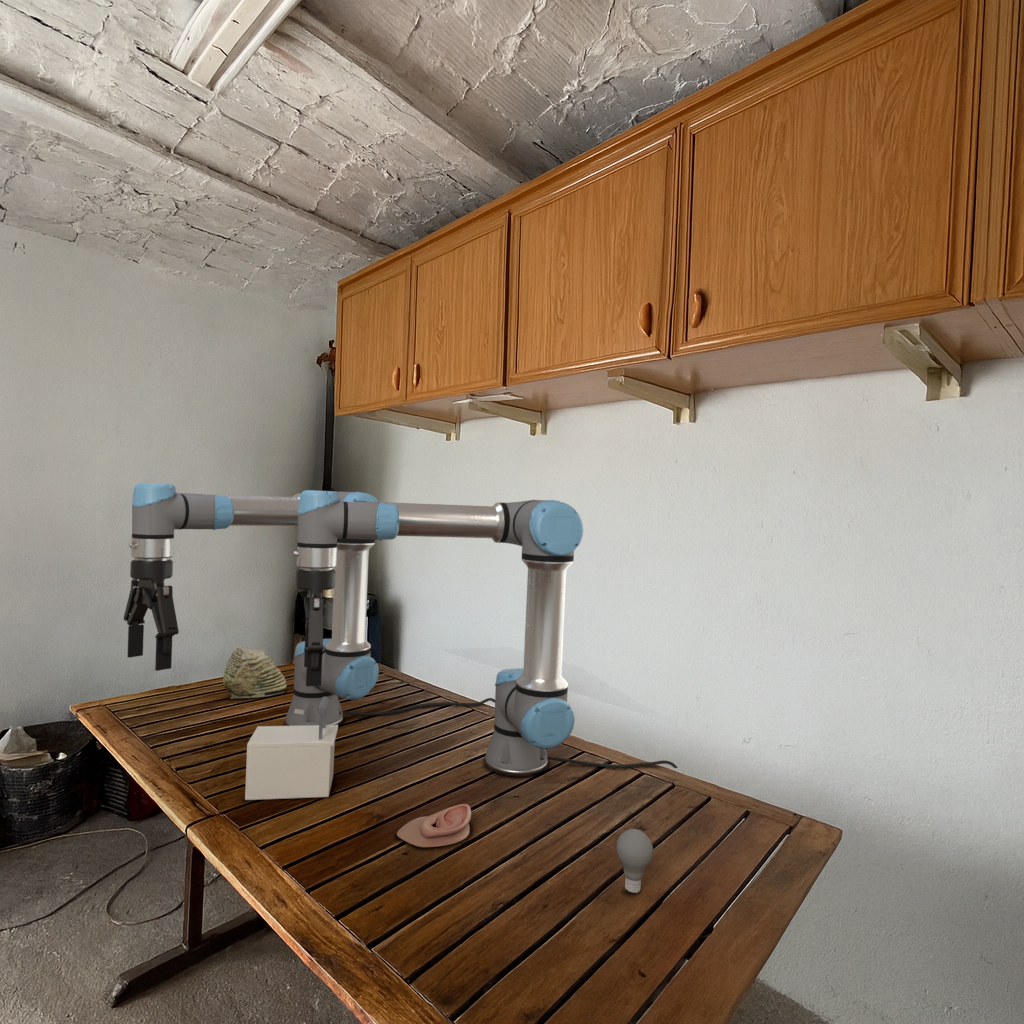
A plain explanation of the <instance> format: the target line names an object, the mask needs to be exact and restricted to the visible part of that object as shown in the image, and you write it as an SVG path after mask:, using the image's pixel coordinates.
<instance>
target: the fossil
mask: <svg viewBox="0 0 1024 1024" xmlns="http://www.w3.org/2000/svg"><path fill="white" fill-rule="evenodd" d="M222 676H223V677H222V685H223V687H224V688H225V690H226V691H228V693H229V698H230V699H250V698H264V697H271V696H275V695H281V694H284V693H285V691H286V689H287V687H288V686H287V680H286V678H285V676H284V674H283V673H282V672H281V669H279V668H278V667H277V665H276V663H275V662H274V660H273V659H272V658H271V657H270V656H269V655H268V654H267V653H266V652H265V650H264V649H263V648H260V647H258V648H251V647H247V646H246V647H245V646H238V647H237V648H236V649H235V650H233V651H232V653H231V656H230V657H229V659H228V660H227V663H226V666H225V668H224V671H223V675H222Z"/></svg>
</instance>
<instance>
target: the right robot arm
mask: <svg viewBox="0 0 1024 1024" xmlns="http://www.w3.org/2000/svg"><path fill="white" fill-rule="evenodd" d="M336 491H337V490H336ZM336 491H335V490H333V491H332V490H313V489H312V490H311V489H306V490H303V491H301V494H300V498H299V509H298V529H297V539H296V541H297V543H296V544H297V545H296V548H297V550H295V551H293V552H292V553H293V556H294V557H296V566H297V570H296V571H295V588H296V589H298V590H301V591H302V590H303V591H306V593H307V594H306V595H307V596H304V598H303V605H304V614H305V625H304V628H305V630H304V632H305V636H304V641H305V647H304V652H305V654H304V667H307V670H306V686H321V675H322V650H323V648H324V646H323V639H324V620H325V616H326V615H325V613H326V610H325V609H326V606H327V604H326V603H327V598H326V596H323V591H328V590H329V591H330V590H334V587H335V580H336V571H335V566H336V562H337V539H371V540H375V541H376V540H377V541H380V542H381V541H387V540H389V541H390V540H391V541H392V540H395V539H396V538H397V537H423V538H424V537H425V538H461V539H463V538H464V539H465V538H466V539H491V540H492V541H493V542H494V543H496V544H502V543H503V544H510V545H516V546H519V547H521V561H522V562H523V563H524V565H525V566H526V568H527V578H526V579H527V581H526V584H527V585H526V600H525V601H526V602H525V603H526V606H525V627H524V628H525V629H524V646H523V647H524V648H523V668H508V669H507V668H505V669H502V670H499V671H498V673H497V674H496V679H495V684H494V686H495V692H494V694H495V695H494V697H495V698H494V699H495V703H494V719H493V722H494V723H493V724H494V725H493V732H492V736H491V738H490V741H489V743H488V746H487V749H486V751H485V756H484V764H485V766H486V767H487V768H488V769H489V770H490V771H492V772H494V773H496V774H499V775H503V776H508V777H518V778H519V777H521V778H522V777H531V776H535V775H538V774H541V773H543V772H544V771H545V770H547V768H548V762H549V761H548V760H550V761H557V762H564V763H570V764H575V765H576V764H577V765H583V766H590V767H600V768H612V769H623V768H625V769H626V768H636V767H644V766H645V767H647V766H657V765H663V764H664V765H669V766H671V767H673V768H674V769H678V766H677V765H676V764H675V763H674V762H672V761H670V760H664V759H663V760H656V761H646V762H643V761H642V762H635V763H634V762H633V763H625V764H624V763H623V764H613V763H611V764H610V763H600V762H591V761H585V760H584V761H583V760H577V759H570V758H563V757H557V756H550V755H548V752H547V750H551V749H554V748H557V747H558V746H561V745H562V744H563V743H564V742H565V740H567V739H568V738H570V735H572V732H573V729H574V727H575V718H576V717H575V713H574V710H573V708H572V706H571V704H570V703H569V702H568V695H569V694H568V693H569V692H568V690H569V689H568V687H569V683H568V681H567V680H566V679H565V678H564V677H563V676H562V675H563V673H562V672H563V671H562V669H563V650H564V649H563V648H564V627H565V605H566V585H567V584H566V583H567V570H568V568H569V567H570V566H572V564H573V563H574V561H575V559H574V558H575V551H576V549H577V548H578V547H579V546H580V544H581V543H582V540H583V536H584V524H583V521H582V518H581V516H580V514H579V512H578V511H576V509H575V508H574V507H573V506H571V505H570V504H568V503H566V502H563V501H560V500H554V499H530V500H529V499H528V500H523V501H522V500H521V501H513V502H495V503H494V504H493V505H491V506H490V505H489V506H488V505H469V504H468V505H467V504H465V505H464V504H443V503H441V504H440V503H439V504H437V503H417V502H416V503H415V502H414V503H412V502H391V501H389V502H387V501H386V502H383V501H379V502H367V501H357V502H344V501H340V499H339V494H338V493H337V492H336Z"/></svg>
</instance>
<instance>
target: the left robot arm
mask: <svg viewBox="0 0 1024 1024" xmlns="http://www.w3.org/2000/svg"><path fill="white" fill-rule="evenodd" d="M336 492H337V493H338V494H339V499H340V501H344V502H357V501H367V502H380V501H379V500H378V498H377V497H375V495H373V494H370V493H367V492H363V491H362V492H361V491H337V490H336ZM301 493H302V492H301ZM301 493H295V494H294V495H293V496H276V495H275V496H274V495H273V496H272V495H248V494H247V495H246V494H244V495H243V494H220V493H219V494H218V493H217V494H216V493H215V494H214V493H189V492H187V493H186V492H177V491H176V486H175V485H174V484H173V483H152V482H139V483H137V484H136V485H135V486H134V488H133V492H132V501H131V520H132V521H131V542H130V543H128V547H129V548H130V549H131V550H130V556H131V558H133V559H132V560H131V561H130V567H129V568H130V571H129V574H130V575H129V576H130V578H131V581H130V590H129V594H128V598H127V603H126V607H125V610H124V615H123V621H124V622H126V624H127V626H128V629H127V630H128V631H127V658H135V657H142V656H144V635H145V634H144V630H145V625H144V624H145V623H146V621H145V619H144V618H145V616H146V615H147V612H148V609H149V610H151V613H152V618H153V620H154V624H155V627H156V631H157V633H156V635H155V636H154V638H155V661H154V663H155V665H154V668H155V669H154V670H155V671H157V672H159V671H164V670H169V669H172V659H173V657H172V655H173V637H175V636H176V635H179V632H180V631H179V625H178V619H177V615H176V614H177V613H176V609H175V603H174V597H173V595H174V593H173V585H165V580H167V579H171V578H172V577H173V575H174V573H173V572H174V561H173V560H172V559H171V558H173V557H174V554H175V553H174V552H175V530H213V531H215V530H224V529H228V528H230V526H233V527H234V526H237V527H238V526H240V527H243V526H246V527H247V526H249V527H250V526H258V527H259V526H268V527H269V526H276V527H277V526H282V527H284V526H285V527H286V526H287V527H288V526H289V527H290V526H291V527H293V528H294V529H296V530H298V509H299V498H300V494H301ZM375 544H376V540H371V539H337V562H336V566H335V567H334V570H335V571H336V580H335V587H334V588H333V599H332V625H331V626H332V627H331V638H323V646H324V648H323V650H322V675H321V686H306V670H307V667H304V654H305V652H304V647H305V640H304V641H300V642H299V643H297V645H296V646H295V650H294V655H293V657H294V672H293V673H294V674H293V695H292V696H293V697H292V699H291V702H290V704H289V708H288V711H287V713H286V715H285V726H308V725H319V716H320V715H319V714H318V713H317V710H318V707H319V705H320V702H321V699H322V698H323V697H325V696H326V697H328V698H329V702H328V705H327V708H326V725H338V727H339V726H340V725H342V723H343V722H344V715H345V716H347V715H350V716H364V717H375V716H385V715H392V714H397V713H403V712H407V711H410V710H414V709H419V708H426V707H435V706H436V707H438V706H462V707H465V706H466V707H475V706H481V705H483V704H486V703H488V702H493V703H494V704H495V698H493V697H488V698H485V699H483V700H480V701H477V702H451V701H450V702H449V701H448V702H429V703H421V704H420V703H419V704H414V705H410V706H408V707H403V708H399V709H393V710H386V711H379V712H361V711H349V710H348V711H345V710H343V709H342V706H341V702H340V699H339V698H341V699H342V700H343V699H344V700H348V701H349V700H350V701H357V700H360V699H362V698H364V697H365V696H367V695H368V694H370V692H371V690H372V689H374V687H375V685H376V683H377V682H378V678H379V674H380V672H379V671H380V670H379V669H380V668H379V665H378V663H377V662H376V660H375V659H374V657H371V652H372V649H371V648H372V644H371V643H370V642H368V640H367V639H366V631H367V607H368V606H367V605H368V604H367V602H368V582H369V581H368V579H369V555H370V553H369V552H370V550H371V548H372V547H374V545H375Z"/></svg>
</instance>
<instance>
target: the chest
mask: <svg viewBox="0 0 1024 1024" xmlns="http://www.w3.org/2000/svg"><path fill="white" fill-rule="evenodd" d="M335 743H336V742H335ZM335 743H334V746H308V747H268V748H247V747H246V760H245V761H246V762H245V763H246V765H245V766H246V767H245V787H244V788H245V790H244V791H245V792H244V801H257V800H279V799H280V800H281V799H307V798H309V799H310V798H329V796H330V794H331V793H330V792H331V788H332V784H333V779H334V766H335V763H334V762H335V745H336V744H335Z"/></svg>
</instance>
